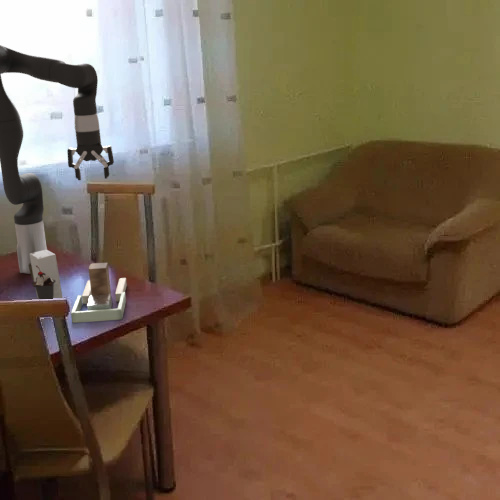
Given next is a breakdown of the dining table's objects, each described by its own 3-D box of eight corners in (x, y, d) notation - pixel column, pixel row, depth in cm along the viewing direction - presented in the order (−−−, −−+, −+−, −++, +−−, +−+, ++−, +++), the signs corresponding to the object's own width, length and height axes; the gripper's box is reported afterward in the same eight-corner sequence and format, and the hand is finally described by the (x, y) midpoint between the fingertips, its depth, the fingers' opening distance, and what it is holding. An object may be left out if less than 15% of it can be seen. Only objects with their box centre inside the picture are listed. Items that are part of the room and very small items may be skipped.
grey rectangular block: (88, 318, 219) (87, 305, 218) (90, 313, 223) (89, 300, 221) (109, 317, 219) (108, 304, 218) (111, 311, 223) (110, 298, 222)
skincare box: (63, 300, 233) (57, 254, 228) (44, 305, 230) (37, 258, 225) (53, 293, 240) (47, 248, 235) (35, 297, 236) (28, 252, 232)
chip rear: (89, 313, 223) (88, 300, 221) (91, 308, 226) (90, 295, 225) (110, 311, 223) (109, 299, 222) (111, 306, 227) (110, 294, 225)
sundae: (38, 311, 225) (31, 263, 221) (61, 309, 226) (55, 261, 221) (34, 320, 219) (27, 270, 214) (58, 318, 220) (51, 269, 215)
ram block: (93, 307, 227) (88, 269, 223) (95, 301, 231) (90, 263, 228) (110, 306, 227) (105, 268, 223) (111, 300, 232) (107, 262, 228)
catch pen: (72, 322, 216) (70, 313, 215) (79, 304, 229) (77, 295, 228) (121, 319, 216) (120, 309, 216) (126, 301, 230) (125, 292, 229)
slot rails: (82, 303, 230) (81, 296, 229) (88, 287, 243) (87, 280, 242) (122, 301, 230) (122, 293, 229) (126, 285, 244) (125, 277, 243)
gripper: (111, 125, 246) (116, 175, 251) (66, 128, 245) (72, 178, 250) (108, 129, 239) (113, 180, 243) (62, 131, 238) (68, 182, 243)
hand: (92, 179), depth 247 cm, fingers open, 8 cm apart
